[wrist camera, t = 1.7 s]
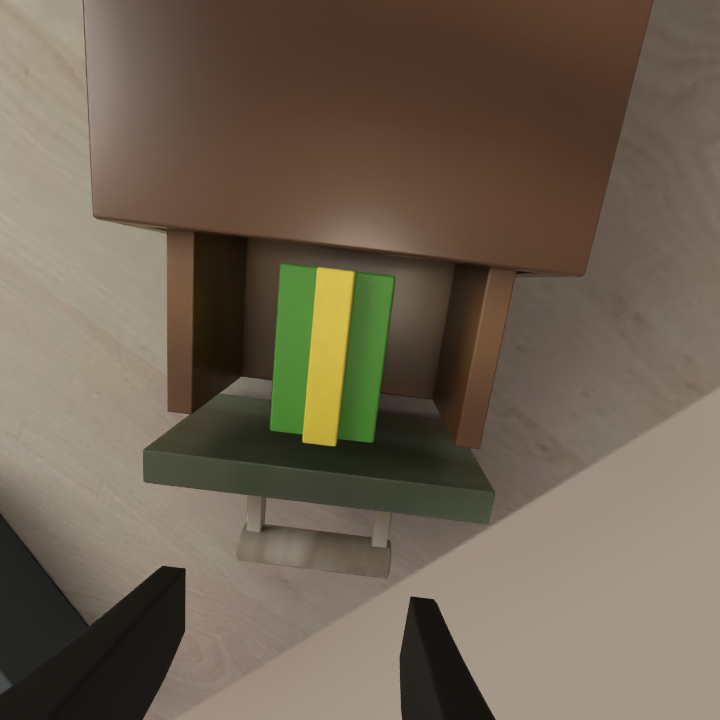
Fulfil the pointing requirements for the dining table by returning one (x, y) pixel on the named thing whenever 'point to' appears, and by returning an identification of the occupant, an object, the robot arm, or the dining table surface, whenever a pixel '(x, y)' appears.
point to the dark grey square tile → (29, 612)
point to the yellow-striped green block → (329, 352)
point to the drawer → (348, 458)
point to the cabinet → (364, 122)
